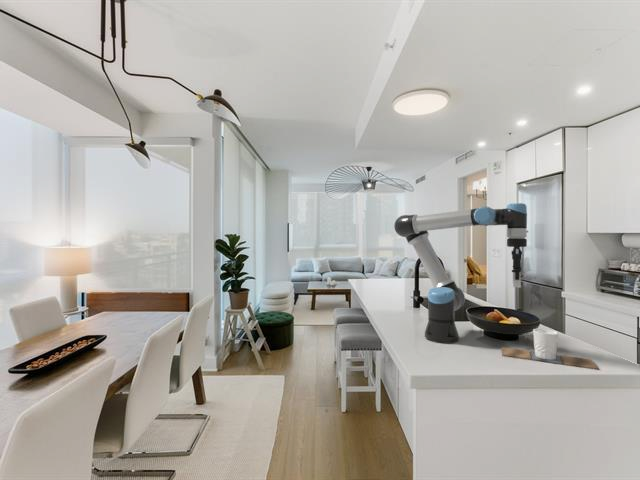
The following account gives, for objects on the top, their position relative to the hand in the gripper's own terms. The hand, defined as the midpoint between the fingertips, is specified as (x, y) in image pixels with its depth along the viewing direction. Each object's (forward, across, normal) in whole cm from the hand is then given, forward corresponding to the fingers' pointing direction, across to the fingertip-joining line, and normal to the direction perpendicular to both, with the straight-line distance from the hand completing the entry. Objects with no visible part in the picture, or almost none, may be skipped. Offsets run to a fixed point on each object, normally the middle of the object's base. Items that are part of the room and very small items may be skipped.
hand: (516, 285), depth 142 cm
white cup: (+26, -16, -9) cm, 31 cm away
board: (+26, -16, -9) cm, 32 cm away
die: (+26, -2, -9) cm, 28 cm away
